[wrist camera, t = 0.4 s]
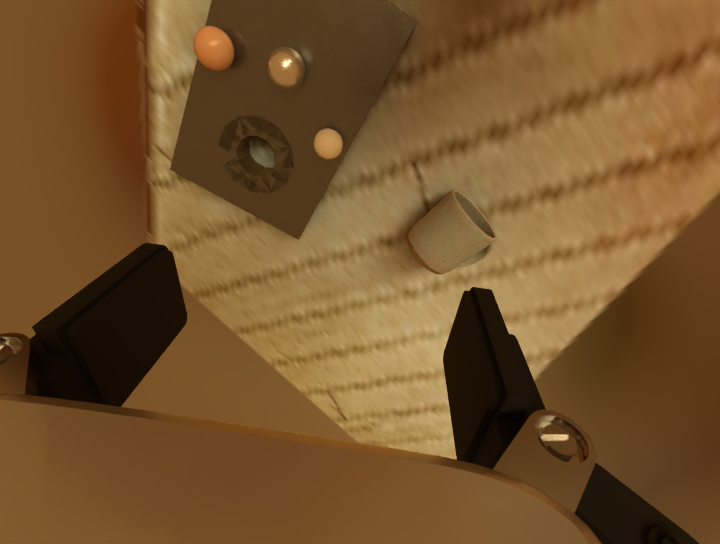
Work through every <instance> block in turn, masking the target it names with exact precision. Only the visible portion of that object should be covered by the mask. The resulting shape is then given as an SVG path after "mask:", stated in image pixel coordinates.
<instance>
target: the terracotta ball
mask: <svg viewBox="0 0 720 544" xmlns="http://www.w3.org/2000/svg"><path fill="white" fill-rule="evenodd" d="M193 47H194V51H195V54H196V56H197V58H198V60H199V61H200V62H201V63H202V64H203V65H204V66H205V67H207V68H209V69H211V70H214V71H222V70H225V69H227V68H228V67H229V66H230V65H231V64H232V62H233V59H234V47H233V44H232V41H231V40H230V38H229V37H228V35H227V34H226V33H225V32H224V31H222V30H221V29H219V28H217V27H214V26H205V27H202V28H201V29H199V30H198V31H197V33H196V34H195V36H194V41H193Z"/></svg>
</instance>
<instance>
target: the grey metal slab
mask: <svg viewBox="0 0 720 544" xmlns="http://www.w3.org/2000/svg"><path fill="white" fill-rule="evenodd" d="M416 24H417V22H416V21H415V20H413V19H412V18H411V17H409V16H408V15H407V14H405V13H404V12H402V11H401V10H400V9H398V8H397V7H396V6H394V5H393V4H392V3H390V2H389V1H388V0H212V2H211V6H210V10H209V14H208V18H207V22H206V26H214V27H217V28H219V29H221V30H222V31H224V32H225V33H226V34H227V35H228V37H229V38H230V40H231V41H232V44H233V47H234V59H233V62H232V64H231V65H230V66H229V67H228V68H227V69H225V70H222V71H214V70H211V69H209V68H207V67H205V66H204V65H203V64H202V63H201V62H200V61H199V60H198V58H197V63H196V67H195V71H194V75H193V79H192V83H191V87H190V91H189V95H188V99H187V103H186V107H185V111H184V115H183V119H182V123H181V127H180V131H179V135H178V139H177V143H176V148H175V152H174V156H173V160H172V164H171V168H170V170H172V171H174V172H176V173H177V174H179V175H181V176H183V177H185V178H187V179H188V180H190V181H192V182H194V183H196V184H198V185H199V186H201V187H203V188H205V189H207V190H209V191H210V192H212V193H214V194H216V195H218V196H220V197H221V198H223V199H225V200H227V201H229V202H231V203H232V204H234V205H236V206H238V207H240V208H242V209H243V210H245V211H247V212H249V213H251V214H253V215H254V216H256V217H258V218H260V219H262V220H264V221H265V222H267V223H269V224H271V225H273V226H275V227H276V228H278V229H280V230H282V231H284V232H286V233H287V234H289V235H291V236H293V237H295V238H297V239H298V240H299V238H300V236H301V234H302V232H303V231H304V229H305V227H306V225H307V223H308V221H309V220H310V218H311V216H312V214H313V212H314V210H315V209H316V207H317V205H318V203H319V201H320V199H321V198H322V196H323V194H324V192H325V190H326V188H327V187H328V185H329V183H330V181H331V179H332V177H333V176H334V174H335V172H336V170H337V168H338V166H339V165H340V163H341V161H342V159H343V157H344V155H345V154H346V152H347V150H348V148H349V146H350V145H351V143H352V141H353V139H354V137H355V135H356V134H357V132H358V130H359V128H360V126H361V124H362V123H363V121H364V119H365V117H366V115H367V113H368V112H369V110H370V108H371V106H372V104H373V102H374V101H375V99H376V97H377V95H378V93H379V91H380V90H381V88H382V86H383V84H384V82H385V80H386V79H387V77H388V75H389V73H390V71H391V69H392V68H393V66H394V64H395V62H396V60H397V58H398V57H399V55H400V53H401V51H402V49H403V48H404V46H405V44H406V42H407V40H408V38H409V37H410V35H411V33H412V31H413V29H414V27H415V26H416ZM281 46H286V47H290V48H292V49H294V50H295V51H296V52H297V53H298V54H299V55H300V56H301V58H302V60H303V62H304V66H305V75H304V79H303V81H302V82H301V84H300V85H299V86H298V87H296V88H295V89H292V90H284V89H281V88H279V87H277V86H276V85H275V84H274V83H273V82H272V81H271V79H270V78H269V75H268V72H267V59H268V57H269V55H270V53H271V52H272V51H273V50H274V49H276V48H278V47H281ZM326 128H329V129H333V130H335V131H337V132H338V133H339V134H340V136H341V138H342V141H343V147H342V151H341V153H340V154H339V155H338V156H337V157H335V158H333V159H324V158H322V157H320V156H319V155H318V154H317V152H316V151H315V148H314V139H315V136H316V134H317V133H318V132H319V131H321V130H322V129H326ZM250 136H259V137H261V138H263V139H264V140H266V141H268V142H269V144H270V145H271V147H272V148H273V150H274V151H275V157H276V165H275V167H274V168H267V167H263V166H261V165H260V164H258V163H256V162H255V161H254V159H253V158H252V156H251V155H250V153H249V148H248V141H249V139H250Z"/></svg>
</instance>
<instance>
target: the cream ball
mask: <svg viewBox="0 0 720 544" xmlns="http://www.w3.org/2000/svg"><path fill="white" fill-rule="evenodd" d="M342 147H343V141H342V138H341V136H340V134H339V133H338V132H337V131H335V130H333V129H329V128H326V129H322V130H321V131H319V132H318V133H317V134H316V136H315V139H314V148H315V151H316V152H317V154H318V155H319V156H320V157H322V158H324V159H333V158H335V157H337V156H338V155H339V154H340V153H341V151H342Z"/></svg>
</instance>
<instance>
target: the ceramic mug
mask: <svg viewBox="0 0 720 544" xmlns="http://www.w3.org/2000/svg"><path fill="white" fill-rule="evenodd" d="M407 238H408V245H409V247H410V250H411V251H412V253H413V255H414V256H415V258H416V259H417V260H418V261H419V262H420V263H421V264H422V265H423V266H424V267H425V268H426V269H428V270H429V271H431V272H433V273H435V274H444V273H446V272H448V271H450V270H452V269H454V268H455V267H457V266H460V267H463V266H468V265H471V264H474V263H476V262H478V261H480V260H481V259H483V258H484V257H485V256H487V255H488V253H489V252H490V251H491V249H492V243H493V242H494V241H495V240H496V234H495V232H494V230H493V228H492V227H491V225H490V224H489V222H488V221H487V219H486V218H485V217H484V215H483V214H482V213H481V211H480V210H479V209H478V208H477V207H476V206H475V205H474V203H473V202H472V201H471V200H469V199H468V198H467V196H465V195H464V194H463V193H461V192H460V191H458V190H452V191H451V192H449V193H448V194H447V195H446V196H445V197H444V198H443V199H442V200H441V201H440V202H439V203H438V204H436V205H435V206H434V207H433V208H432V209H431V210H430V211H429V212H428V213H427V214H426V215H425V216H424V217H423V218H421V219H420V220H419V221H418V222H417V223H416V224H415V225H414V226H413V227H412V229H411V230H410V231H409V233H408V237H407Z"/></svg>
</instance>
